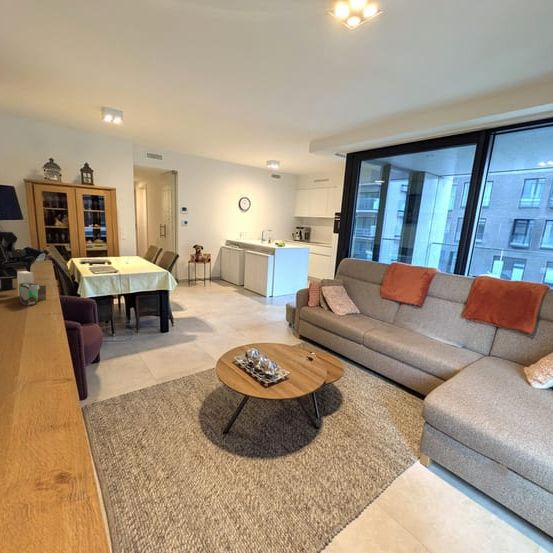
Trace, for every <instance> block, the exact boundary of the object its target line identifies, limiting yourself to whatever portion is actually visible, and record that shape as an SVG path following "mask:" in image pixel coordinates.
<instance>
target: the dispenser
mask: <svg viewBox="0 0 553 553" xmlns="http://www.w3.org/2000/svg"><path fill="white" fill-rule="evenodd" d="M38 285H39V288H40V289H38V299H37V302H39V301H38V300H41V301H46V300H47V290H46V289H47V288H46V287H47V286H46V284H42V283H41V284H40V283H39V284H38ZM19 296H20V287H19ZM20 301H21V296H20V297H19V302H20Z"/></svg>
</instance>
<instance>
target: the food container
mask: <svg viewBox="0 0 553 553" xmlns="http://www.w3.org/2000/svg"><path fill="white" fill-rule="evenodd" d="M19 287H20V296H21V302H20V303H21V304H23V305H25V306H28V307H31V305H32V306H36V305H37V304H38V301H37V299H38V289H40V288H39V284H38V283H37V282H36V283H35V282H34V283H19Z"/></svg>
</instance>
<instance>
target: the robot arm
mask: <svg viewBox="0 0 553 553" xmlns="http://www.w3.org/2000/svg"><path fill="white" fill-rule="evenodd" d="M17 241H18V237H17V235H16V234H15V233H14V232H13V231H0V290H1V291H7V290H8V291H9V289H10V290H16V289H17V287H14V280H18V279H17V272H19V271H18V270H17V269H16V268H15V265H17V264H24V268H25V269H26V270H25V271H28V272H31V266H32V265H34V263H35V262H36V258H35V257H34V256H26V255H27V252H26V249H24V248H23V249H19V250H17V249H16V248H15V246H16V244H17ZM24 256H26V257H24ZM23 257H24V259H22V258H23Z"/></svg>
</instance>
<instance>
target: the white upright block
mask: <svg viewBox="0 0 553 553" xmlns="http://www.w3.org/2000/svg"><path fill="white" fill-rule="evenodd" d="M16 280H17V297H18V296H19V283H35V282H34V272H33V271H32V272H31V271H30V272H28V271H27V270H23V271H18V272H17V279H16Z"/></svg>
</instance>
